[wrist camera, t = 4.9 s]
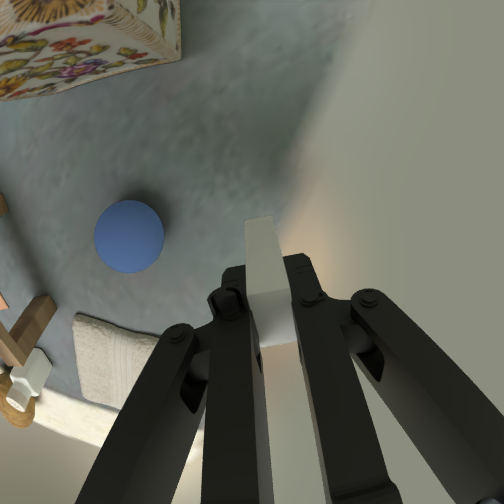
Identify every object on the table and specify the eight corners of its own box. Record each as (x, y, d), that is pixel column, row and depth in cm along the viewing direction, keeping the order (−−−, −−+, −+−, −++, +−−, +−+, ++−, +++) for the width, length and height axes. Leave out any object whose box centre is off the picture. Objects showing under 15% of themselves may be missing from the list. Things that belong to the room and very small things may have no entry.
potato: (34, 375, 34) (17, 411, 27) (46, 410, 41) (35, 440, 34) (-8, 351, 32) (-26, 384, 25) (9, 390, 38) (-4, 418, 31)
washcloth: (87, 388, 36) (81, 403, 33) (74, 305, 28) (64, 323, 25) (159, 409, 38) (156, 425, 36) (173, 334, 30) (168, 355, 28)
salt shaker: (41, 347, 31) (15, 398, 22) (54, 366, 33) (32, 416, 24) (24, 344, 31) (-2, 392, 22) (36, 363, 33) (14, 410, 24)
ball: (101, 200, 22) (70, 227, 17) (159, 183, 22) (137, 207, 17) (123, 256, 25) (101, 292, 20) (178, 243, 24) (165, 281, 19)
